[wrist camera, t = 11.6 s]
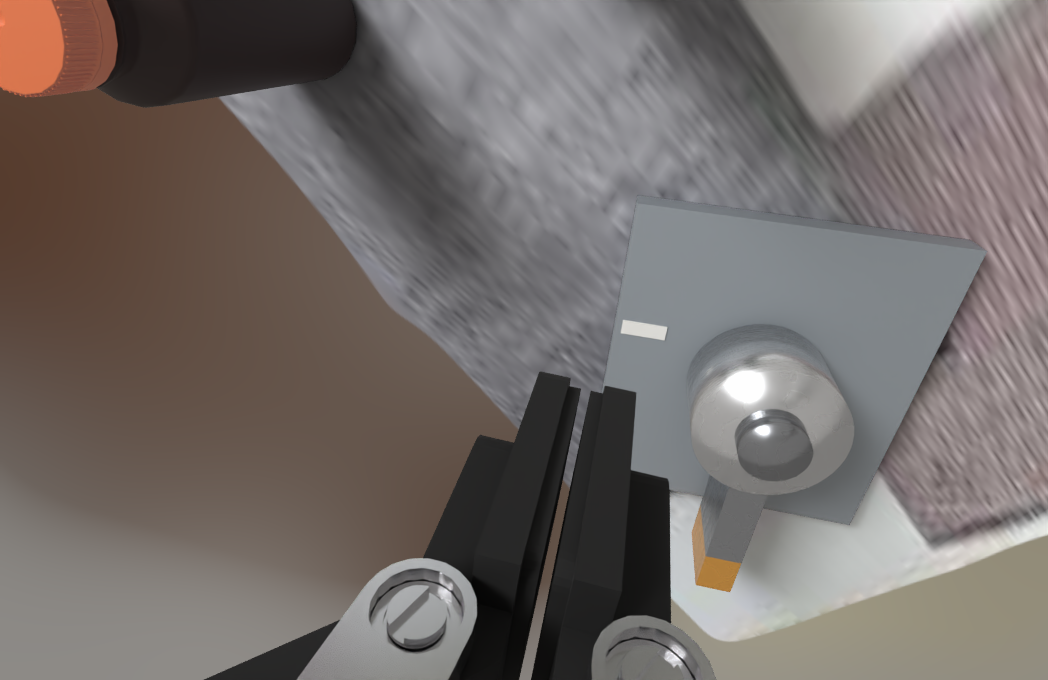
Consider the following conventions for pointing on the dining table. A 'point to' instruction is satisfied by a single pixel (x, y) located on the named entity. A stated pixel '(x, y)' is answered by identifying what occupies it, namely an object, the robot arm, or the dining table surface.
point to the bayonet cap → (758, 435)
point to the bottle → (170, 46)
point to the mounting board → (781, 324)
